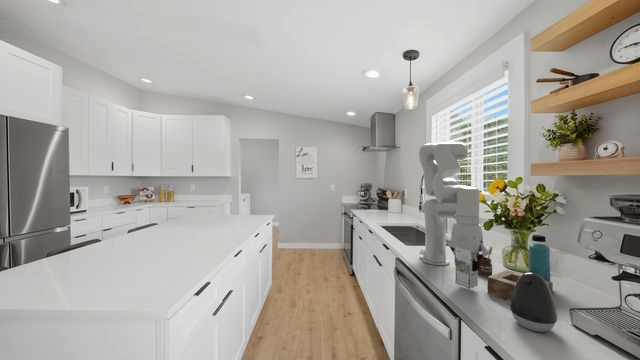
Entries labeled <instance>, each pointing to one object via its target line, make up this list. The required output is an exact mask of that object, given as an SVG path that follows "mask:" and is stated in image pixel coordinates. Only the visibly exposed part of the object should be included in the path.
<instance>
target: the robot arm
mask: <svg viewBox="0 0 640 360" xmlns="http://www.w3.org/2000/svg"><path fill="white" fill-rule="evenodd" d="M468 151H469V150H468V147H467V145H466V144H465V143H463V142H461V141H460V142H459V141H456V142H455V141H448V142H447V141H445V142H439V143H437V142H436V143H426V144H423V145H422V146H421V145H420V148H419V152H418V157H419V162H420V165H421V167H422V170H423V178H424V189H425V194H426V195H427V196H428V197H434V198H431V199H427V200H426V201H424V203H423V206H422V207H423V212H424V213H423V215H424V222H425V223H424V225H425V228H424V229H425V232H424V233H425V235H424V237H425V239H424V240H425V241H424V242H425V246H424V247H425V248H424V249H420V251H419V254H420V255H423V256H422V258H421V261H423V262H424V263H426V264H428V265H433V266H447V265H449V264H450V260H449V259H448V258H447V246H448V247H449V248H450V250H451V252H452V254H453V256H454V265H455V266H454V267H456V247H458V248H461V249H465V250H469V251H470V252H471V253H473V258H474V260H473V261H472V271H474V272H475V271H478V270H479V268H480V260H481V259H482V258H484V257H488V256H489V249H487V248H486V247H485V245H484V236H483V230H482V226H481V224H480V189H479V188H478V187H474V186H473V187H471V186H468V185H460V184H459V182H458V181H457V180H456V179H455V178H452V177H453V176H455V175H456V174H458V173H459V171H460V169H461V166H460V164H459V161H465V160H466V158H467V157H468ZM441 219H454V220H455V222H453V223H452V224H453V225H452V228H451V235H450V240H449V241H448V242H447V227H446V225H445V223H444V222H443V221H442V220H441ZM480 252H481V253H480Z"/></svg>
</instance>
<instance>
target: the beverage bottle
mask: <svg viewBox="0 0 640 360" xmlns="http://www.w3.org/2000/svg"><path fill="white" fill-rule="evenodd" d="M531 241H532V243H530V244H529V245H528V271H527V272H533V273H536V274H538V275H540V276H541V277H542V278H543V279H544V280H546V281H549V282H552V281H551V280H552V279H551V277H552V275H551V261H550V259H551V257H550V254H551V253H550V250H551V248H550V247H549V246H548V245H547V244H544V243H547V240H546V236H545V235H542V234H541V235H540V234H533V235H532V237H531Z"/></svg>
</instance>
